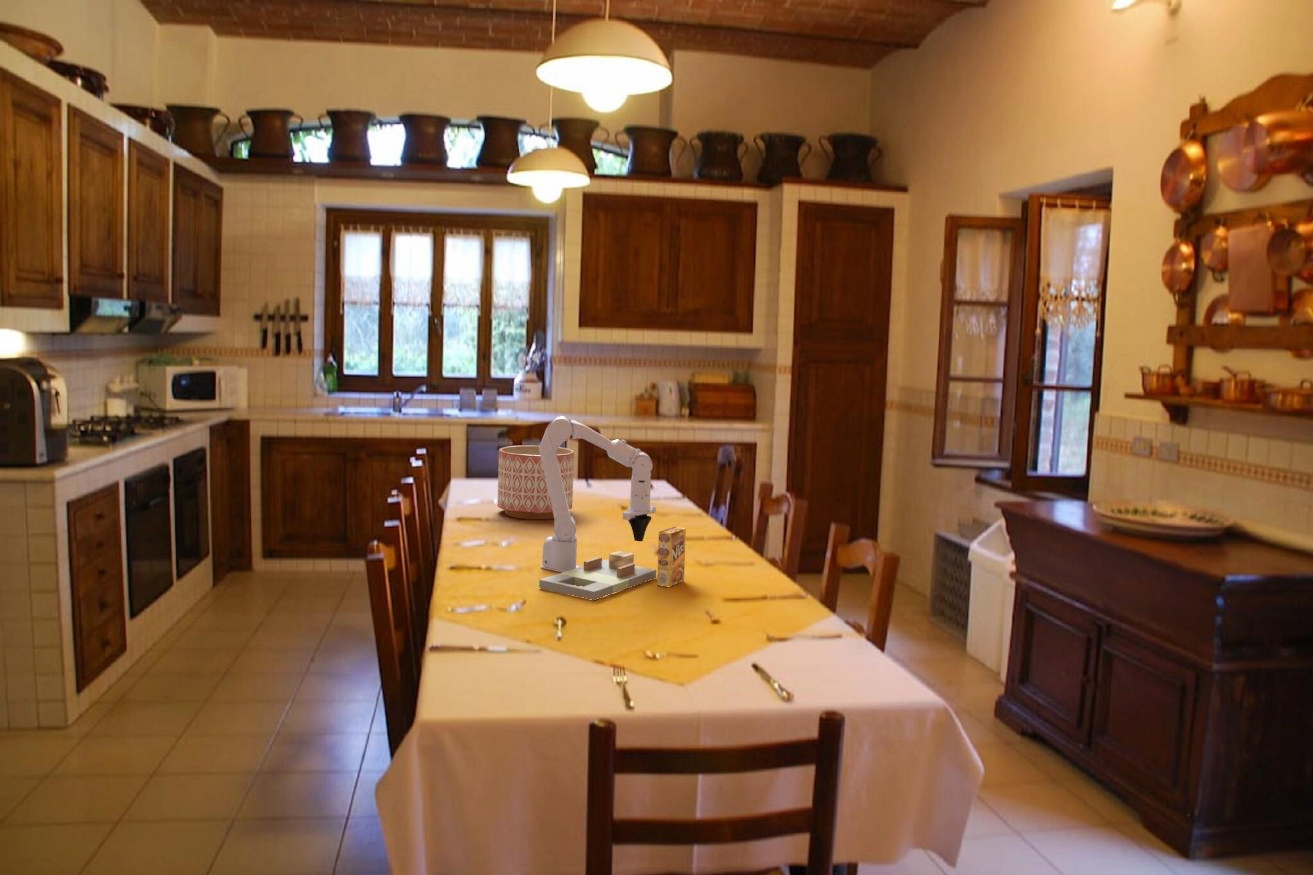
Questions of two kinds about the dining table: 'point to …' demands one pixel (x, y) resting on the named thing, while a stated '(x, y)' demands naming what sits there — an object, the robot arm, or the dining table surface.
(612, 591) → the tunnel deck
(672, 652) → the dining table surface
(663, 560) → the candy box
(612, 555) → the maple block
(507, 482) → the planter
